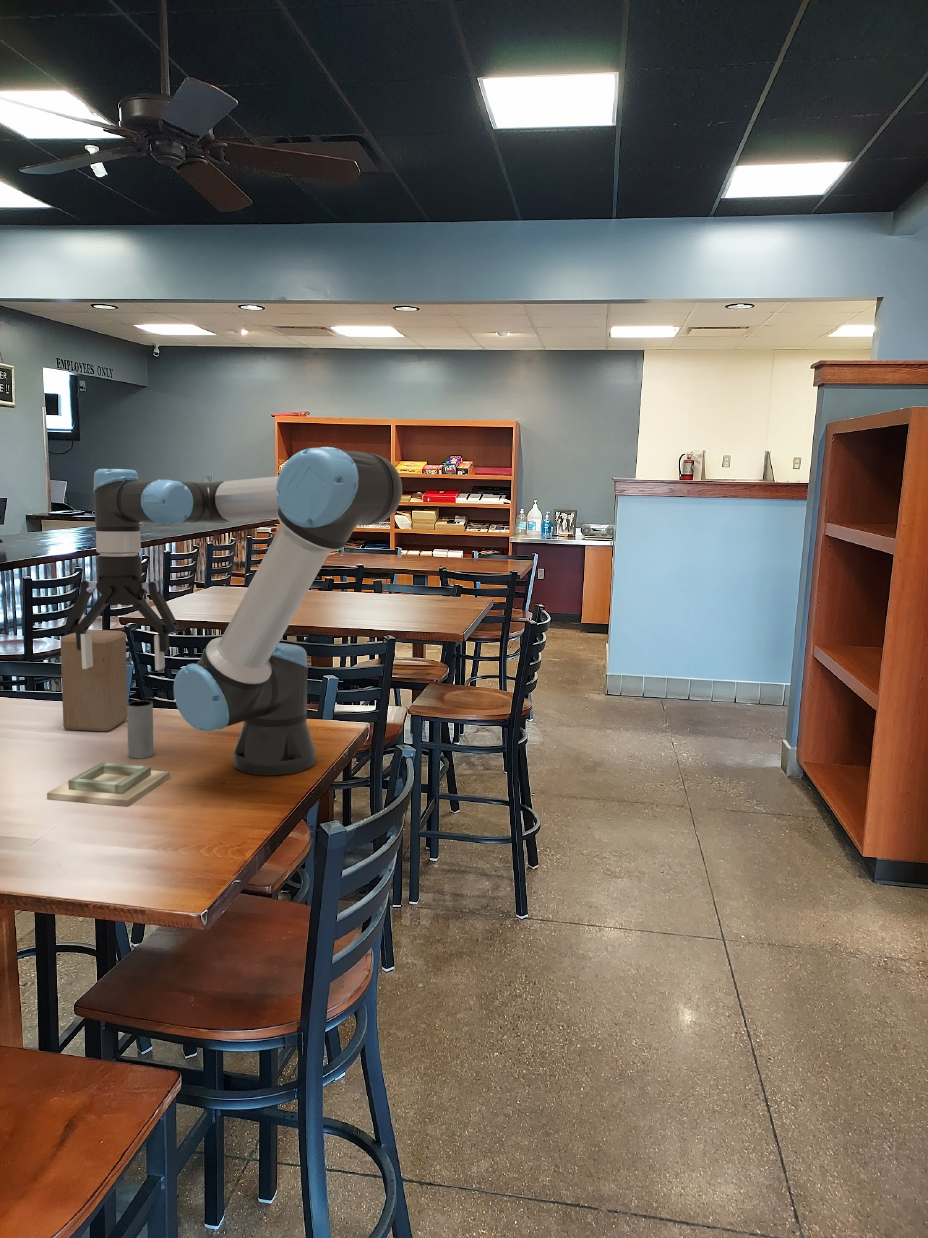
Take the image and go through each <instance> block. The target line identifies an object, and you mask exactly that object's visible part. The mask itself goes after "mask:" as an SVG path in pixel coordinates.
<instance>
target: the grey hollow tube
mask: <svg viewBox="0 0 928 1238" xmlns="http://www.w3.org/2000/svg"><path fill="white" fill-rule="evenodd" d="M126 721H127V756H128V757H129V758H130V759H136V760H137V759H146V758H147V759H148V758H150V757H153V755H154V705H153V701H151V700H147V699H144V700H143V699H141V700H140V699H139V700H132V701H128V702H127V719H126Z"/></svg>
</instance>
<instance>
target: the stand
mask: <svg viewBox="0 0 928 1238" xmlns="http://www.w3.org/2000/svg"><path fill="white" fill-rule="evenodd" d="M169 778H171V772H170V771H162V770H161V771H160V770H152V767H151V766H145V765H134V764H133V765H132V764H121V763H120V764H119V763H110V762H109V763H108V762H99V763H97V764H95V765H94V766H92V767H90V768H88V769H86V770H85V771H83V772H80V774H78V775H76V776H74V777H72V778H71V779H68V781H66V782H64V783H63V784H60V785H59V786H57V787H55V788H53V789H52V790H50V791H48V792H47V793H46V800H54V801H55V800H57V801H66V802H67V801H68V802H75V803H77V802H78V803H86V804H97V805H98V804H99V805H109V806H120V807H129V806H131V805H132V804H133V803H135V802H136V801H138V800H139V799H140V798H142V797H144V796H145V795H146V794H148V793H149V792H151V791H152V790H154V789H155V788H157V787H158V786H160V785H161V784H163V782H165V781H167V780H169Z"/></svg>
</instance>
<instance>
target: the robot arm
mask: <svg viewBox="0 0 928 1238" xmlns="http://www.w3.org/2000/svg"><path fill="white" fill-rule="evenodd" d="M138 474H139V473H138V472H137V471H136V470H134V469H129V468H128V469H123V468H98V469H97V470H95V471H94V473H93V491H92V494H93V505H94V523H95V548H96V549H95V550H96V551H95V552H96V553H98V554H99V555H98V556H97V557H96V566H97V569H96V572H97V577H98V578H97V581H93V580H92V579H86V580H82V581H80V582H79V583H80V587H79V593H78V596H77V598H76V600H75V602H74V605H73V607H72V608H71V611H70V613H69V616H68V618H67V620H66V622H65V624H64V629H65V630H66V631H72V632H73V633H76V642H77V643H76V644H77V650H81V654H82V669H87V668H90V667H92V666H93V655H92V634H91V632H86V631H88V630H89V628H90V627H91V626H92V624H94V623H95V621H96V619H98V617H100V615H101V614H102V612H103V611H104V610H105V609H106V607H108V606H109V605H110V606H118V605H121V606H124V607H125V606H130V605H131V606H133V608H135V609H136V610H137V611H138V612H139V613H140V614H141V616H142V617H143V618H144V619H145V620H146V621H147V622H148V623H149V625H150V626H151V627H152V628H153V629H154V630H155V631H156V632H157V634H155V635H154V636H153V641H154V644H153V647H154V669H155V670H154V671H161V670H163V669H165V668H166V664H165V663H166V660H165V653H166V652H168V651H169V649H170V641H169V639H170V634H171V633H172V632H175V631H178V630H179V628H180V625H179V623H178V622H177V620H176V618H175V616H174V614H173V613H172V611H171V609H170V606H169V605H168V603H167V601H166V598H164V595H163V593H162V589H161V584H160V582H159V581H158V580H153V581H149V582H144V580H143V579H142V578H143V577H142V574H143V566H142V557H141V556H140V555H138V553H141V552H142V545H141V544H142V543H141V526H140V523H144V524H146V523H147V524H148V523H149V524H160V525H174V524H186V523H187V524H190V523H191V524H193V523H202V524H203V523H209V524H210V523H211V524H213V523H214V524H226V523H229V522H238V521H239V522H241V521H258V520H274V519H275V520H276V519H278V521H279V524H280V526H279V529H278V530H277V532H276V534H275V536H274V538H273V540H272V542H271V543H270V545H269V547H268V549H267V551H266V553H265V555H264V556H263V558H262V560H261V562H260V564H259V566H258V567H257V570H256V572H255V573H254V576H253V577H252V580H251V582H250V583H249V585H248V587H247V589H246V591H245V593H244V595H243V596H242V598H241V601H240V603H239V604H238V607H237V608H236V609H235V612H234V614H233V616H232V618H231V620H230V622H229V623H228V626H227V627H226V629H225V631H224V633H223V635H222V636H220V637H216V638H214V639H211V640H210V641H209V642H208V644H207V645H206V647H205V648H204V651H203V652H202V655H201V656H200V659H199V660H198V661H197V662H196V663H189V664H187V665H186V666H183V667H181V668H180V670H178V671H177V673H176V675H175V678H174V681H173V699H174V700H175V703H176V708H177V710H178V712H179V714H180V716H181V717H182V718H183V719H184V721H186V723H187V724H188V725H190V726H191V727H193V728H194V729H196V730H198V731H202V732H211V731H215V730H217V731H218V730H219V731H220V730H223V729H225V728H226V727H230V726H233V725H237V724H239V723H242V722H243V724H242V728H241V730H240V733H239V737H238V739H237V742H236V745H235V749H234V753H233V766H234V767H235V769H237V770H239V771H240V772H243V773H247V774H250V775H251V774H252V775H257V776H282V775H283V776H285V775H290V774H295V773H300V772H303V771H306V770H308V769H310V768H312V767H313V766H314V765H315V764H316V753H317V751H316V748H315V744H314V741H313V739H312V736H311V732H310V729H309V726H308V722H307V721H308V720H307V716H308V715H307V711H308V710H307V707H308V704H307V703H308V669H309V666H308V654H307V651H306V650H305V648H304V647H302V646H300V645H296V644H293V643H292V644H291V643H285V642H284V643H283V642H280V641H281V640H282V638H283V636H284V634H285V633H286V631H287V629H288V627H289V625H290V623H291V622H292V620H293V618H294V616H295V614H296V612H297V611H298V610H299V607H300V606H301V604H302V602H303V601H304V599H305V597H306V595H307V594H308V591H309V590H310V588H311V587H312V584H314V583H313V582H314V580H315V579H316V577H317V575H318V573H319V572H320V570H321V568H322V566H323V565H324V563H325V561H326V559H327V558H328V557H329V554H330V553H332V552H337V551H340V550H342V549H343V548H344V547H345V546H346V544H347V542H348V541H349V539H350V538H351V535H352V534H353V532H354V530H355V528H356V527H357V526H370V525H376V524H377V525H378V524H379V523H382V522H384V521H386V520H387V519H389V518H390V517H391V516H392V515H394V513H396V511H397V509H398V507H399V506H400V502H401V501H402V497H403V483H402V479H401V476H400V474H399V471H398V470H397V469H396V467H395V465H393V464H392V463H391V462H390V461H389V460H388V459H387V458H385V457H383V456H382V455H378V454H376V453H372V452H366V451H365V452H363V451H352V450H345V449H340V448H335V447H332V446H331V447H330V446H321V447H310V448H306V449H303V450H299V451H298V452H296V453H295V454H293V455H292V456H291V457H290V458H289V459H288V460H287V461H286V462H285V463H284V465H283V466H282V468H281V470H280V472H279V474H278V476H277V475H276V476H267V477H266V476H265V477H257V478H255V477H254V478H245V479H237V480H234V479H233V480H224V481H222V480H221V481H211V482H205V481H204V482H203V481H202V482H200V481H199V482H197V481H196V482H195V481H194V482H193V481H179V480H172V479H151V480H147V479H146V480H139V475H138ZM96 590H97V591H98V592H99V593H100V596H99V597H98V598H97V600H96V601H95V603H94V605H93V606H92V607H91V608H90V610H88V612H87V614H85V615H84V617H83V618H82V616H83V614H84V613H85V610H86V608H87V605H88V604H89V602H90V599H91V597H92V594H93V593H94V592H95V591H96ZM144 590H145V591H146V593H147V594H149V596H150V599H151V601H152V602H153V604H154V606H155V608H156V610H157V612H158V614H159V615H158V614H157V613H156V612H155V611H154V609H153V608H152V607H151V606H150V605H149V604H148V602H147V600H146V599H145V598H144V596H143V595H142V593H143V592H144Z"/></svg>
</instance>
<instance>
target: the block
mask: <svg viewBox="0 0 928 1238" xmlns="http://www.w3.org/2000/svg"><path fill="white" fill-rule="evenodd" d="M87 630H88V631H86V632H91V634H92V655H93V666H92V667H90V668H87V669H82V654H81V650H77V644H76V643H77V642H76V633H75V632H73V633H69V634H67V635H63V636H62V637H60V665H61V671H60V672H61V690H62V691H61V692H62V693H61V695H62V720H63V721H62V725H63V726H62V727H63V728H64V729H65V730H69V731H88V732H92V731H93V732H109V731H111V730H112V729H114V728H116V727H118V726H120V725H121V724H122V723H123V722H125V721H127V704H128V683H127V682H128V679H127V678H128V677H127V675H128V674H127V637H126V636H127V635H126V632H124V631H122V630H107V629H87Z"/></svg>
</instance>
